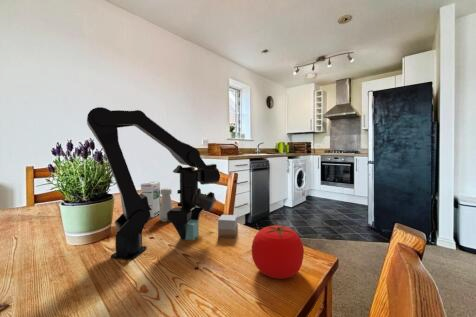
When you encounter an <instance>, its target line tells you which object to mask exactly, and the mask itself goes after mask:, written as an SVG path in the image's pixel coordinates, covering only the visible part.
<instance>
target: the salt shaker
mask: <svg viewBox="0 0 476 317" xmlns="http://www.w3.org/2000/svg"><path fill="white" fill-rule="evenodd" d="M172 192H173V191H172V188H171V187H170V188H169V187H164V188H162V189H161V188H160V196H161V198H160V202H161V205H160V211H159V215H158V217H159V220H160V221H161V222H163V223H167V221H169V220H167V213H168V212H169V210H171V209H173V208H174V207H173V204H172V203H173V202H172V199H171V198H172V197H171V195H172ZM169 222H170V221H169Z"/></svg>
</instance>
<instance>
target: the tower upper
mask: <svg viewBox="0 0 476 317" xmlns="http://www.w3.org/2000/svg"><path fill="white" fill-rule="evenodd" d="M237 224H238V215H237V214H235V215H234V214H221V215H220V216H219V218H218V219H217V229H228V230H235V228H236V226H237Z"/></svg>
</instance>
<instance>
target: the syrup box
mask: <svg viewBox="0 0 476 317" xmlns="http://www.w3.org/2000/svg"><path fill="white" fill-rule="evenodd" d="M141 193H142V194H144V195H145V196H147V199H148V204H149V207H150V208H151V209H152V210H149V211H150V218H155V217H157V216H159V215H158V214H159V211H160V205H161V182H160V181H148V182H144V183H141V184H140V194H141Z"/></svg>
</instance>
